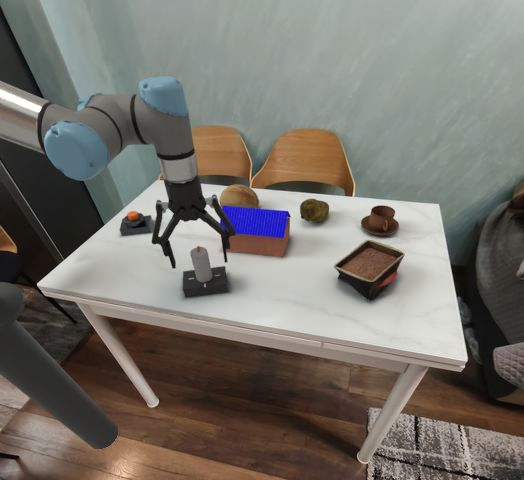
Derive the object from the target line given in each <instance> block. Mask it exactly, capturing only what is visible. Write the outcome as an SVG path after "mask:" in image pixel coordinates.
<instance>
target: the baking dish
mask: <svg viewBox="0 0 524 480" xmlns="http://www.w3.org/2000/svg"><path fill="white" fill-rule="evenodd" d="M405 255H406V254H405V252H403V251H402V250H400V249H398V248H396V247H393V246H390V245H389V244H388V245H387V244H386V243H383V242H379V241H376V240H373V239H365V240H364V241H363V242H362V243H360V244H359V245H358V246H357V247H355V248H354V249H353V250H352V251H350V253H348V254H347V255H345V256H344V257H343V258H342V259H340V260H339V261H337V262H336V263H335V264H333V268H334V269H335V270H336V271H337V272H338V276H337V280H341V281H343V282H345V283H347V284H348V285H349V286H350V287H351V288H352V289H353V290H354V291H355V292H357V293H358V294H359V295H360V296H361V297H363V298H364V299H366V300H367V301H369V302H373V301H374V300H375V299H377V297H379V296H380V295H381V294H382V293H383V292H384V291H386V290H387V289H388V288H389V287H390V285H391V284H392V283H393V282H394V281H396V279H397V276H398V269H399V268H400V265H401V263H402V261H403V259H404V257H405Z"/></svg>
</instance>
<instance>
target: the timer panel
mask: <svg viewBox="0 0 524 480" xmlns="http://www.w3.org/2000/svg"><path fill="white" fill-rule="evenodd" d="M211 271H212V279H211V280H209V281H207V282H200V281H198V280H197V278H196V274H195V270H194V269H191V270H183V271H182V291H183V295H184V298H186V299H188V298H195V297H196V298H197V297H203V296H210V295H218V294H224V293H229V291H230V290H229V283H228V275H227V270H226V266H225V265H223V266H216V267H215V266H213V267H211Z"/></svg>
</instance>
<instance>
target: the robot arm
mask: <svg viewBox="0 0 524 480" xmlns="http://www.w3.org/2000/svg"><path fill="white" fill-rule="evenodd" d="M138 90H139V93H134V94H133V93H131V94H130V93H129V94H127V93H126V94H125V93H123V94H122V93H121V94H120V93H119V94H117V93H116V94H113V93H112V94H111V93H110V94H109V93H108V94H107V93H102V92H99V93H98V92H97V93H95V94H85V95H82V96H81V97H80V98H79V99H78V106H77V110H76V111H75V110H71V109H69V108H66V107H64V106H62V105H59V104H57V103H54V102H51V101H49V100H47V99H45V98H42V97H40V96H38V95H36V94H32V93H30V92H28V91H26V90H23V89H21V88H19V87H16V86H13V85H11V84H9V83H6V82H4V81H2V80H0V139H2V140H6V141H8V142H10V143H12V144H15V145H18V146H21V147H23V148H26V149H28V150H30V151H31V150H32V151H34V152H37V153H40V154H42V155H45V156H47V157H48V159H49V160H50V162H51V164H52V165H53V166H54V167H55V169H57V170H58V171H60V172H61V173H63V174H64V175H65V176H66V177H67V178H70V179H73V180H75V181H81V182H83V181H89V180H92V179H93V178H95V177H96V176H97V175H99V174H100V173H101V174H102V173H103V172H104V171H105V170H106V169H107V167H108V166H109V164H110V163H112V162H113V160H114V159H115V158H116V157H118V156H119V154H121V153H122V152H123V151H124V150H125V149H126V148H127V147H128V146H135V145H136V146H138V145H141V146H142V145H143V146H145V145H146V146H148V145H153V147H154V150H155V153H156V158H157V161H158V165H159V169H160V173H161V176H162V178H163V184H164V188H165V191H166V195H167V200H168V201H162V200H160V199H157V200H156V202H155V212H156V217H155V219H154V220H155V221H154V226H153V231H152V236H151V244H152V245H159V246H160V247H161V251H162V253H163V256H164V257H168V259H169V262H170V265H171V269H172V270H174V269H176V265H177V262H176V258H175V254H174V252H173V248H172V244H171V241H170V240H169V239H170V237H171V236H172V234H173V232H174V231H175V229H176V227H177V226H178V225H179V223H180V221H182V222H183V223H186V222H190V221H192V222H193V221H194V222H196V221H198V220H199V219H200V220H201V221H202V222H204V223H205V224H207V225H208V226H209V227H210V228H211V229H213V230H214V231H215V232H217V234H219V235H220V240H222V241H221V247H222V254H223V260H224V263H228V262H229V261H228V254H227V251H226V250H227V249H230V242H229V237H230V236H235V235H236V231H235V227H234V226H233V224H232V223H231V221H230V220H229V218H228V217H227V215H226V214H225V212H224V211H223V209H222V207H221V205H220V202H219V199H218V196H217V194H212V195H211V197H206V198H205V196H204V193H203V189H202V183H201V177H200V175H199V165H198V160H197V154H196V149H195V145H194V138H193V133H192V127H191V121H190V120H191V119H190V111H189V107H188V105H187V100H186V96H185V90H184V87H183V84H182V83H181V81H180V80H179V79H178V78H176V77H174V76H168V75H163V76H151V77H146V78H144V79H141V80H140V81H139V83H138ZM207 206H209V207H210V208H211V209H213V210H214V212H215V213H216V215H217V217H218V218H219V219H221V221H222V222H223V223H224V225H225V226H226V228H227V229H226V228H224V227H223V226H222V225H221V224H220V221H218V220H217V219H215V217H213V216H212V215H211V214H210V213H209V212H208V211H207V210H206V207H207ZM167 210H169V211H170V212H171V213H172V215H171V218H170V220H169V222H168V224H167V225H166V227H165V229H164V230H163V232H162V234H161V235H160V230H161V226H162V221H163V215H164V214H166V213H167ZM159 235H160V236H159Z"/></svg>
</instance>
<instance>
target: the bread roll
mask: <svg viewBox="0 0 524 480" xmlns="http://www.w3.org/2000/svg"><path fill="white" fill-rule="evenodd" d="M218 202H219V205H220V206H221V208H222V206H233V207H245V208H258V207H259V206H260V200H259V196H258V194H257V193H256V191H254V189H252V188H251V187H249V186H247V185H245V184H235V183H234V184H231V185H229V186H227V187H226V188H225V189H224V188H223V190H222V191H221V193H220V196H219V199H218Z"/></svg>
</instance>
